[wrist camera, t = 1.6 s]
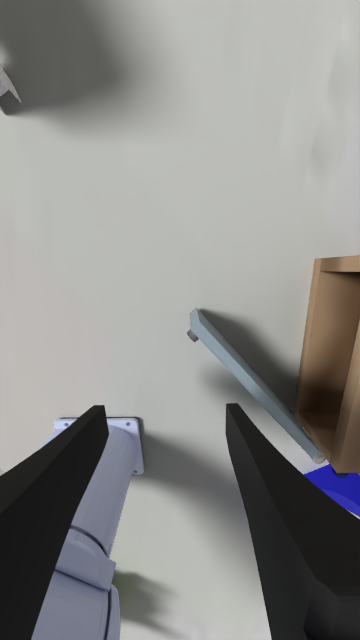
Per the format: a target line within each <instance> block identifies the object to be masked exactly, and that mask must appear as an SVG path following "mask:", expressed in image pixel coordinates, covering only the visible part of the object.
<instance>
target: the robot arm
mask: <svg viewBox="0 0 360 640" xmlns="http://www.w3.org/2000/svg"><path fill="white" fill-rule="evenodd" d="M128 422H129V423H128ZM54 427H55V430H54V431H53V432H52V433H51V435H50V436H49V437H48V438H47V440H46V441H45V442H44V443H43V444H42V446H41V447H40V448H39V449H38V451H36V452H35V453H34V454H32V455H31V456H30V457H28V458H27V459H25V460H24V461H22V462H21V463H19V464H18V465H16V466H15V467H14V468H12V469H11V470H9V471H8V472H6V473H4V474H3V475H1V476H0V640H119V639H120V624H121V616H120V607H119V594H118V591H117V588H116V587H115V586H114V585H112V584H111V583H112V579H113V575H114V570H115V566H116V563H115V562H114V561H112V560H110V559H109V558H110V554H111V550H112V547H113V543H114V539H115V535H116V532H117V528H118V524H119V520H120V517H121V513H122V509H123V505H124V501H125V498H126V494H127V490H128V486H129V483H130V479H131V475H141V474H143V472H144V464H143V456H142V448H141V441H140V433H139V425H138V420H137V419H135V418H106V412H105V407H104V405H94V406H93V407H91V408H90V409H89V410H88V411H86V412H85V413H84V414H83V415H82V416H80V417H79V418H78V419H57V420H56V421H55V422H54ZM226 438H227V443H228V449H229V454H230V457H231V461H232V464H233V468H234V471H235V475H236V478H237V482H238V485H239V489H240V492H241V496H242V499H243V503H244V506H245V510H246V514H247V518H248V523H249V528H250V532H251V537H252V542H253V546H254V551H255V556H256V561H257V566H258V571H259V576H260V581H261V586H262V591H263V596H264V601H265V606H266V611H267V616H268V622H269V627H270V632H271V637H272V640H360V520H359V519H358V518H357V517H355V516H354V515H353V514H351V513H350V512H349V511H347V510H346V509H345V508H343V507H342V506H341V505H339V504H338V503H337V502H335V501H334V500H333V499H332V498H330V497H329V496H328V495H327V494H326V493H324V492H323V491H322V490H321V489H319V488H318V487H317V486H316V485H315V484H313V483H312V482H311V481H310V480H309V479H307V478H306V477H305V476H304V475H303V474H302V473H301V472H300V471H298V470H297V469H296V468H295V467H294V466H293V465H292V464H291V463H290V462H289V461H288V460H287V459H286V458H285V457H284V456H283V455H282V454H281V453H280V452H279V451H278V450H277V449H276V448H275V447H274V446H273V445H272V444H271V443H270V442H269V441H268V440H267V439H266V437H265V436H264V435H263V434H262V433H261V432H260V431H259V429H258V428H257V427H256V426H255V425H254V423H253V422H252V421H251V420H250V419H249V417H248V416H247V415H246V413H245V412H244V411H243V410H242V408H241V407H240V406H239V405H238V404H237V403H231V404H226Z"/></svg>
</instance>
